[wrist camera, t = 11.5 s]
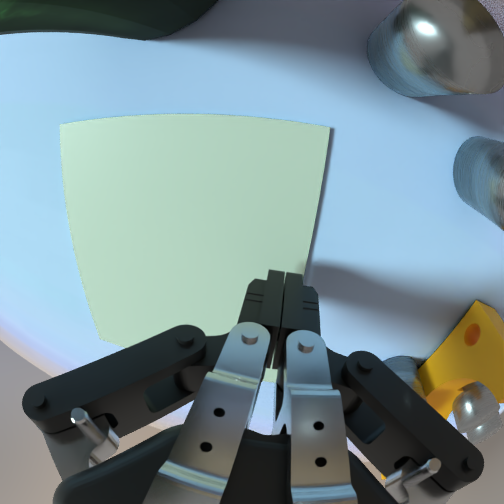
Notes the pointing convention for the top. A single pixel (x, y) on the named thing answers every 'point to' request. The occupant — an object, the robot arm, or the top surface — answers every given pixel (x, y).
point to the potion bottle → (101, 16)
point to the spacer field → (471, 151)
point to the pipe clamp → (466, 360)
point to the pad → (186, 215)
